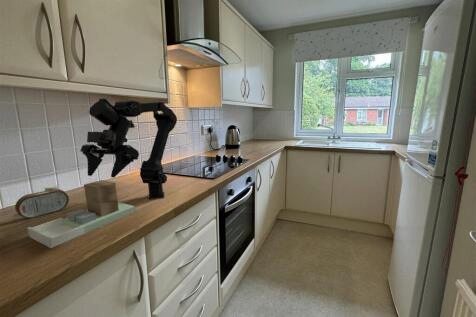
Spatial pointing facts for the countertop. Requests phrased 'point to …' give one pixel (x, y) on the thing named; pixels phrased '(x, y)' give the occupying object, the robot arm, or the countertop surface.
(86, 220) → the slate tile
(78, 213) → the slate tile
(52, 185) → the pill bottle
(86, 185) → the walnut push block
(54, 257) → the countertop surface
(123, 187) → the countertop surface
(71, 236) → the cream tray
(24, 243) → the countertop surface
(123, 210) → the sage board
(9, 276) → the countertop surface
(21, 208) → the tin
